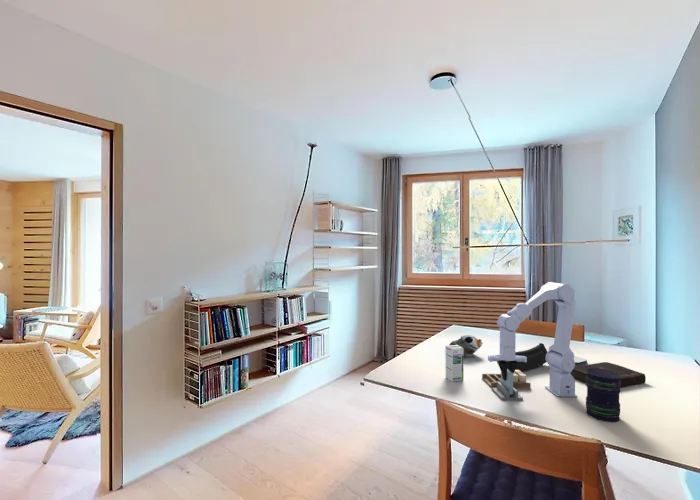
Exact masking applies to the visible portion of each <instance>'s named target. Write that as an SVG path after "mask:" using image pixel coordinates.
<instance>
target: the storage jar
mask: <svg viewBox="0 0 700 500" xmlns="http://www.w3.org/2000/svg"><path fill="white" fill-rule="evenodd" d="M585 384H586V397H585V407H586V409H585V410H586V411H585V413H586V414H587V416H589V417H591V418H592V419H595V420H597V421H601V422H606V423H617V422H619V420H620V419H621V418H620V416H621V403H620V393H621V389H622V388H620V387H621V383H620V375H619V374H618V373H616V372H613V371H610V370H605V369H598V368H590V369H587V377H586V383H585ZM620 421H621V420H620Z"/></svg>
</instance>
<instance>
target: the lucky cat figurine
mask: <svg viewBox="0 0 700 500" xmlns="http://www.w3.org/2000/svg"><path fill="white" fill-rule="evenodd" d="M450 345H459V346H461V347H463V358H471V356H473V355H474V354H475V353H476V352H477V351H478V350H479V349H480V348H481V347H482V346H483V341H482V339H480V338H477V337H476V336H474V335H470V334H466V335H461V336H460V338H458V339H456V340H453V341H451V342H450V343H449V344H448V346H450Z"/></svg>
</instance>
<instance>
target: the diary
mask: <svg viewBox="0 0 700 500" xmlns="http://www.w3.org/2000/svg"><path fill="white" fill-rule="evenodd" d="M590 368H598V369H605V370H610V371H613V372H616V373H618V374H619V375H620V383H621V387H620V389H622V388H628V387H633V386H637V385H643V384H646V374H645V373H643V372H639V371H635V370H633V369H630V368H628V367H625V366H623V365H619V364H615V363H612V362H607V361H604V362H603V361H602V362H596V363H590V364H583V365H575V367H574V369H573V370H572V371H571V372H570V374H571V375H572V376H573V378H574V379H575V381H578V382H581V383H585V384H586V377H587V369H590ZM642 383H643V384H642Z"/></svg>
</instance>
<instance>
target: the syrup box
mask: <svg viewBox="0 0 700 500" xmlns="http://www.w3.org/2000/svg"><path fill="white" fill-rule="evenodd" d="M449 345H450V344H449ZM449 345H445V353H444V355H445V378H446V379H447V378H448V379H447V380H449V381H450V380H451V381H450V382H453V383H454V382H460V381H461V382H462V381H464V357H463V347H461V346H459V345H450V346H449Z"/></svg>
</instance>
